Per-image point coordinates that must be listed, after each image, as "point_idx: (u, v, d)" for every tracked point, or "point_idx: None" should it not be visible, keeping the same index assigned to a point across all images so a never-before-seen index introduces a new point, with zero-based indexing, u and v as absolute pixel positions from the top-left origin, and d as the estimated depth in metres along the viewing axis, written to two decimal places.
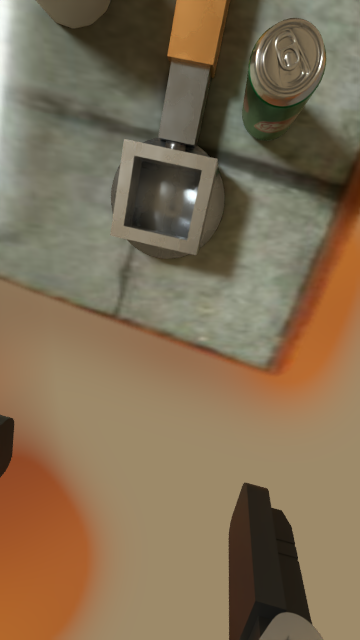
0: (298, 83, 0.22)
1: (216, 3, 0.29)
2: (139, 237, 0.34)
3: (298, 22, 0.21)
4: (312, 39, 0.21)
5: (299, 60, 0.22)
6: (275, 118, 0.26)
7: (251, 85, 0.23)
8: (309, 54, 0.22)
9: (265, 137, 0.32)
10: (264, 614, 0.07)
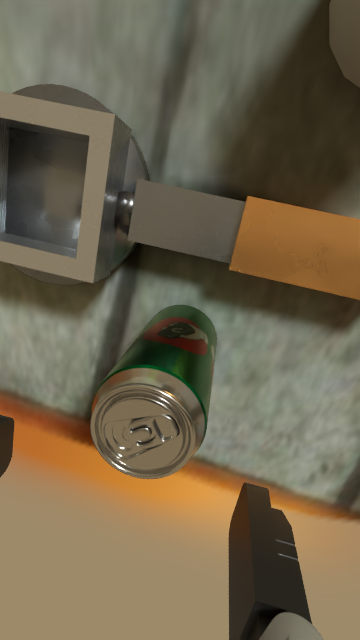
0: (108, 445, 0.14)
1: (306, 273, 0.19)
2: None
3: (189, 445, 0.13)
4: (165, 464, 0.14)
5: (140, 445, 0.14)
6: None
7: (122, 368, 0.14)
8: (146, 460, 0.14)
9: None
10: (264, 614, 0.07)
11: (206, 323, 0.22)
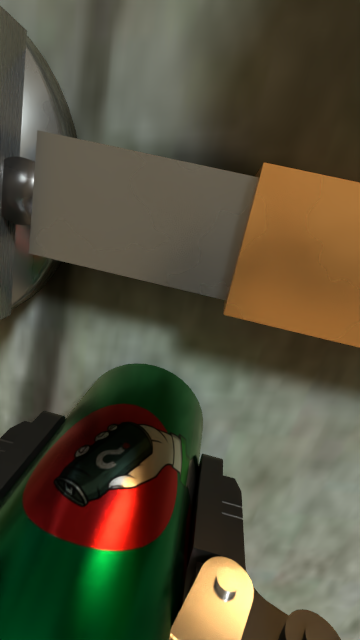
0: None
1: None
2: None
3: None
4: None
5: None
6: None
7: None
8: None
9: None
10: (202, 560, 0.08)
11: (182, 404, 0.12)
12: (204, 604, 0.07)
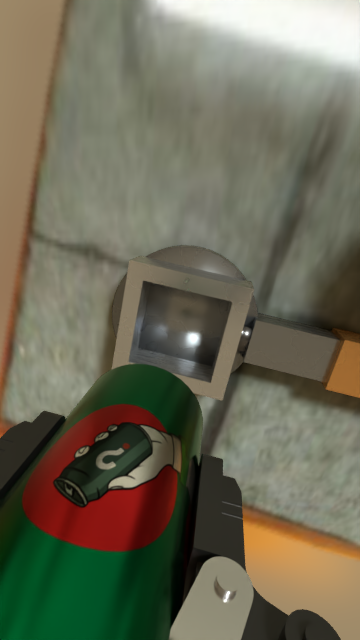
0: None
1: None
2: (128, 301, 0.25)
3: None
4: None
5: None
6: None
7: None
8: None
9: None
10: (202, 560, 0.08)
11: (182, 405, 0.12)
12: (204, 604, 0.07)
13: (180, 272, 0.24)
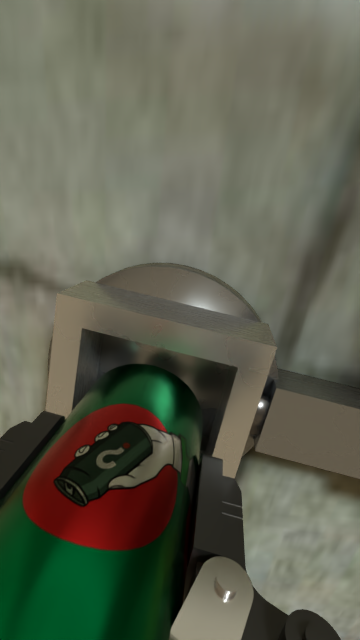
0: None
1: None
2: (59, 362, 0.14)
3: None
4: None
5: None
6: None
7: None
8: None
9: None
10: (202, 560, 0.08)
11: (182, 404, 0.12)
12: (204, 604, 0.07)
13: (146, 315, 0.13)
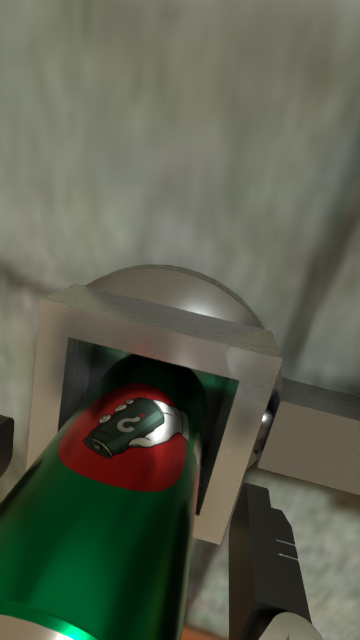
0: None
1: None
2: (44, 373, 0.13)
3: None
4: None
5: None
6: None
7: None
8: None
9: None
10: (264, 614, 0.07)
11: (189, 387, 0.13)
12: None
13: (138, 323, 0.12)
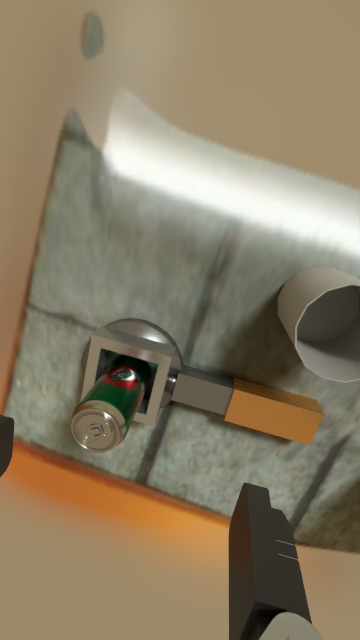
0: (79, 436, 0.29)
1: (263, 425, 0.38)
2: (91, 360, 0.37)
3: (117, 437, 0.29)
4: (106, 445, 0.29)
5: (94, 436, 0.29)
6: None
7: (86, 399, 0.29)
8: (97, 443, 0.29)
9: None
10: (264, 614, 0.07)
11: (143, 366, 0.37)
12: None
13: (125, 344, 0.36)
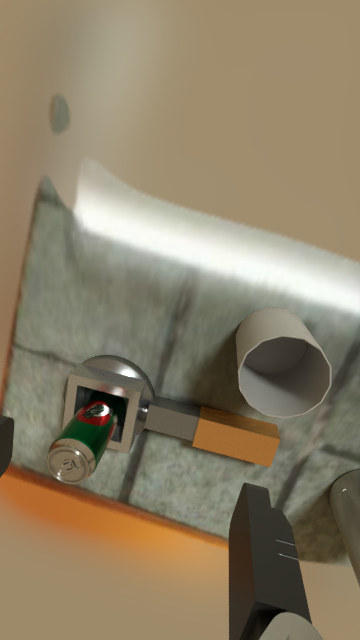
0: (54, 470, 0.33)
1: (227, 450, 0.42)
2: (69, 395, 0.41)
3: (87, 470, 0.33)
4: (78, 478, 0.33)
5: (67, 470, 0.33)
6: None
7: (60, 438, 0.33)
8: (70, 476, 0.33)
9: None
10: (264, 614, 0.07)
11: (116, 400, 0.41)
12: None
13: (98, 381, 0.40)
